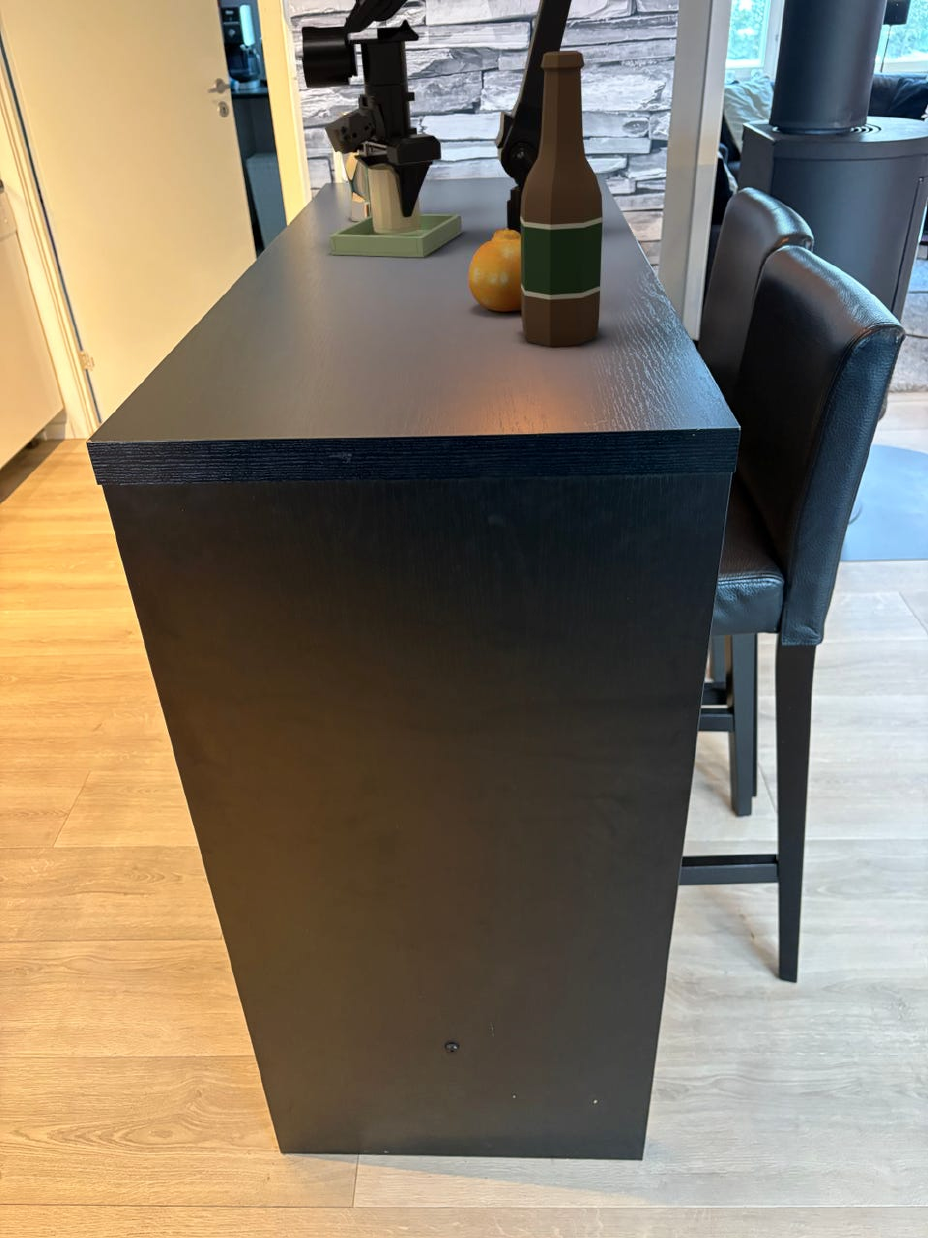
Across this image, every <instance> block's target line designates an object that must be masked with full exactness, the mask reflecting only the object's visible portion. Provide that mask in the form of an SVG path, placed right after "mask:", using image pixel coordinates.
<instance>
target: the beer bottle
mask: <svg viewBox="0 0 928 1238" xmlns="http://www.w3.org/2000/svg"><path fill="white" fill-rule="evenodd" d="M585 66H586V64H585V61H584V56H583V52H581V51H579V50H560V51H554V52H548V53H546V54H544V56H543V60H542V64H541V67H542V68H543V69H544V70H545V74H544V93H543V112H542V131H541V142H540V148H539V155H538V158H537V160H536V162H535V164H534V165H533V167H532V169H531V171H530V172H529V174H528V176H527V179H526V182H525V185H524V189H523V192H522V198H521V215H520V217H521V305H522V310H521V322H522V324H521V325H522V331H523V334H524V337H525V339H526V341H527V342H528V343H530V344H536V345H540V346H545V347H550V348H552V347H566V346H567V347H568V346H581V345H582V344H585V343H587V342H589V341H591V340H593V339H596V338H597V336H598V334H599V323H600V307H601V306H600V305H601V280H602V277H601V276H602V250H603V221H604V220H603V219H604V217H603V216H604V215H603V213H604V212H603V195H602V192H601V187H600V184H599V181H598V177H597V175H596V173H595V171H594V169H593V168H592V166H591V164H590V162H589V161H588V158H587V157H586V151H585V150H586V149H585V142H584V128H583V127H584V126H583V98H582V97H583V96H582V69H583V68H584V67H585Z"/></svg>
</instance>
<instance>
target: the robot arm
mask: <svg viewBox="0 0 928 1238" xmlns="http://www.w3.org/2000/svg"><path fill="white" fill-rule="evenodd" d="M354 1H355V3H354V4H353V6H352V9H351V11H350V12H349V14H348V16H346V17H344V18H345V22H344V24H343V25H339V26H337V25H336V26H321V27H319V26H315V25H306V26H302V27H301V28H300V29H301V38H302V41H301V44H302V45H301V46H302V47H301V48H302V57H301V64H302V71H303V77H304V83H305V86H306V89H319V88H320V89H321V88H322V89H323V88H339V87H351V83H352V82H351V81H352V80H351V79H352V78H353V77H355V78H358V77H359V64H358V53H357V45H360V46H359V47H360V56H361V66H362V67H361V68H362V78H363V88H364V93H359V96H358V98H357V101H358V102H357V104H358V108H356V109H353V110H354V111H352V112H350V113H347V114H346V115H344V116H342V117H340V118H339V117H338V118H336V119H335V120H333V121H332V122H330V123H328V124H326V125H325V126H324V131H325V132H326V135H327V138H328V140H329V142H330V144H331V146H332V149H333V151H334V153H338V152H339V153H340V154H341V153H342V154H347V153H350V152H351V153H357V151H358V150H359V155H355V156H354V158H355V159H356V160H358V161H359V162H361V163H362V164H363V165H364V166H365V167H366V168H367V169H368V167H369V166H372V165H377V164H384V163H385V164H384V165H385V166H386V167H387V168H388V169H389V170H390V171H391V172H392V174H393V175H394V176H395V180H396V185H397V190H398V195H399V201H400V206H401V210H402V214H403V217H405V218H406V217H411V215H412V213H413V210H414V207H415V204H416V201H417V198H418V195H419V196H420V193H421V190H422V187H423V184H424V181H425V179H426V177H427V174H428V172H429V170H430V167H431V166H433V165H434V161H438V160H441V159H442V144H441V143H442V142H440V140H439V139H438V138H437V137H436V136H435V135H433V134H428V133H418V128H417V127H415V126H412V120H411V119H412V117H411V107H410V106H411V105H410V102H415V101H416V95H415V91H409V77H408V64H407V63H408V62H407V49H406V43H408V42H418V41H419V40H420V34H419V33H418V32H416V31H415V30H414V29H413V28H412V26H411V25H410V23H409V21H408V20H407V19H403V21H402V22H401V24H400V25H399V26H387V27H377V28H376V37H370V38H369V37H367V38H353V39H351V34H357V33H359V34H360V33H362V32H365V31H366V29H368V28H369V27H370V26H371V25H372V24H373V23H375V22H376V23H382V22H386V21H389V20H391V19H393V18H394V17H395V16H396V15H397V14H398V13H399V12H400V10H401V9H402V8H403V7H404V6H405V5H407V3H408V2H409V0H354ZM572 3H573V0H539V2H538V9H537V12H536V17H535V22H534V25H533V29H532V34H531V38H530V42H529V48H528V52H527V55H526V56H527V57H526V60H525V65H524V69H523V74H522V78H521V83H520V87H519V92H518V96H517V98H516V100H515V103H514V105H513V107H512V110H511V112H510V113H509V112H507V111H505V110H503V109H502V110H501V111H500V115H499V116H500V117H499V130H498V133H497V135H496V137H495V139H494V140H493V143H494V146H495V147H496V149H497V159H498V161H499V163H500V165H501V167H502V169H503V171H504V173H505V174H506V175H507V176H508V177H510V179H513V180H514V182H515V185H516V186H514V187H512V188H510V189H509V191H510V192H509V199H508V200H507V201H506V228H509V230H514V231H516V232H518V233H519V234H520V235H521V217H520V215H521V198H522V192H523V189H524V185H525V182H526V179H527V176H528V174H529V172H530V171H531V169H532V167H533V165H534V164H535V162H536V160H537V158H538V155H539V148H540V142H541V131H542V112H543V93H544V74H545V70H544V69H543V68H542V67H541V64H542V60H543V56H544V54H546V53H548V52H554V51H561V48H562V44H563V38H564V34H565V30H566V26H567V22H568V19H569V14H570V9H571V6H572Z"/></svg>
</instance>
